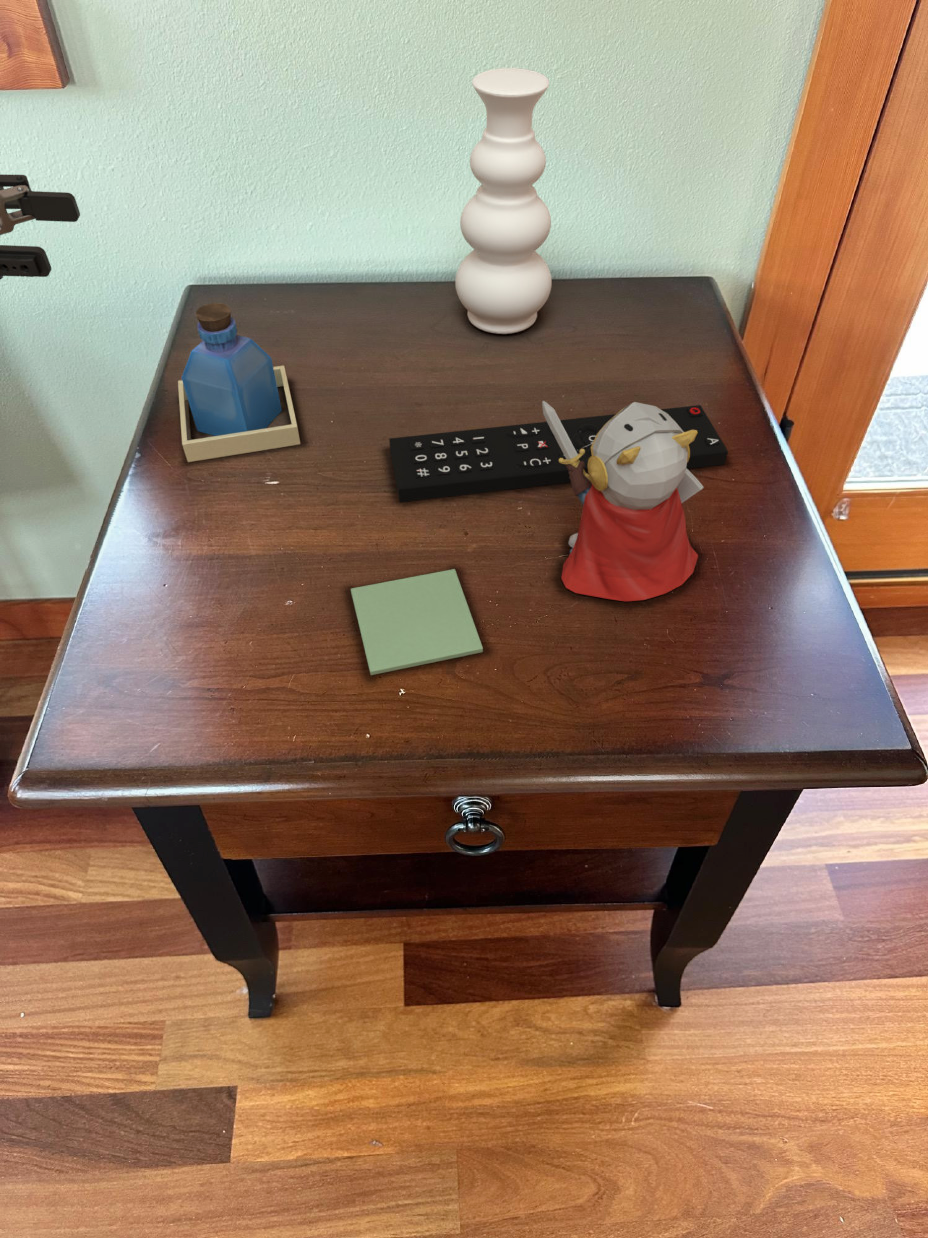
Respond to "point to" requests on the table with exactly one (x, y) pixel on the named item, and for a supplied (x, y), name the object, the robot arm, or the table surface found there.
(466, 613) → the mat
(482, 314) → the vase
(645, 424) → the figurine
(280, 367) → the holder
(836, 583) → the table surface
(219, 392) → the perfume bottle
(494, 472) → the remote control
